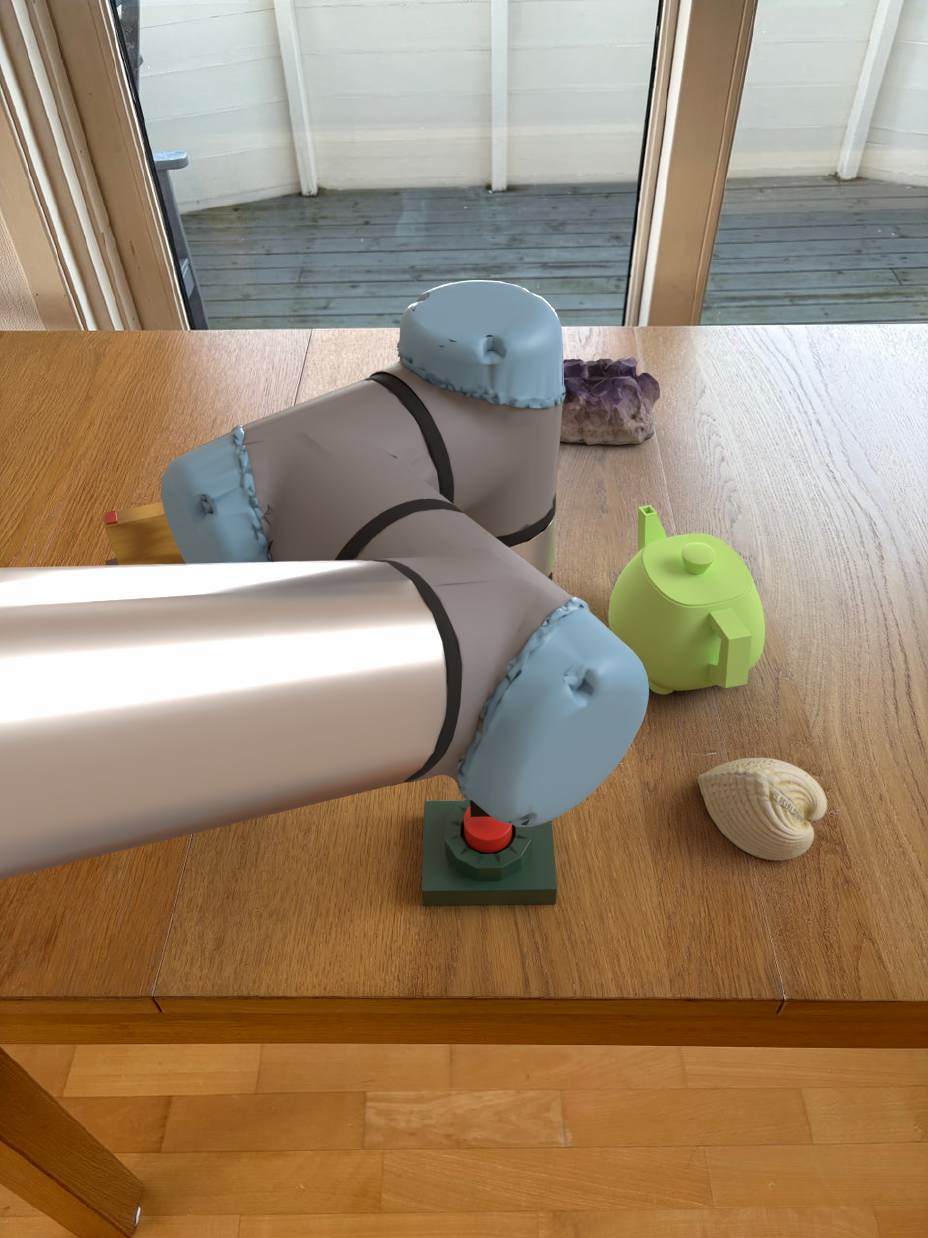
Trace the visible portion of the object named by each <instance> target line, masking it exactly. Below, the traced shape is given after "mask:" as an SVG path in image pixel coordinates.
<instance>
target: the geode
mask: <svg viewBox="0 0 928 1238" xmlns="http://www.w3.org/2000/svg"><path fill="white" fill-rule="evenodd" d="M563 367H564V386H565V391H566V393H565V398H564V400H563V406H562V420H561V433H560V442H563V443H564V442H565V443H572V444H573V443H574V444H581V443H584V444H586V445H588V446H593V445H595V444H600V445H626V444H632V445H634V444H635V445H638V444H642V443H643V442H644V441H647V440H650V439H651V438H653V436H654V434H655V427H654V426H655V422H654V421H655V420H654V419H655V415H654V414H655V413H654V412H653V410H654V406H655V404H656V402H657V401H658V400H659V399H660V397H661V389H660V383H659V381H658V380H657V379H656V378H654V377H653V376H652V375H651V374H650V373H648V372H641V373H640V374H639V375H638V372H637V367H638V360H637V359H636V358H635V357H634V356H626V357H620V358H617V359H615V360H612V359H611V358H599V359H597V360H587V361H584V360H583V359H581V358H569V359H567V358H565V359H563Z"/></svg>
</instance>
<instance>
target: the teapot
mask: <svg viewBox="0 0 928 1238" xmlns="http://www.w3.org/2000/svg"><path fill="white" fill-rule="evenodd" d="M637 526H638V527H637V535H638V536H637V544H638V545H637V553H636V554H635V556H633V557H632V558H631V560H630V561H629V562H628V563H627V565H626V566H625V567H624V569H622V572H621V573H620V574H619V576H618V578H617V579H616V582H615V584H614V587H613V589H612V591H611V595H610V599H609V603H608V604H609V605H608V610H607V611H608V612H607V614H608V615H607V617H608V618H607V619H608V625H609V630H610V631H611V632H613V633H614V634H615V635H616V636H617V637H618V638H619V639H620V640H621V641H623V642H624V643H625V644H626V645H627V646H628V647H629V648H630V649H632V650H633V652H634V653H635V654H636V655H637V656H638V658H639V659H640V660H641V662H642V664H643V666H644V668H645V671H646V674H647V677H648V684H649V690H651V691H652V692H654V693H655V694H659V695H668V694H671V693H673V692H674V691H679V692H681V691H693V690H699V689H706V688H709V687H713V686H718V687H720V688H723V689H729V688H733V687H739V686H745V685H748V684H749V683H748V682H749V681H748V680H749V671H750V670H752V669H753V668H754V667H755V666H756V665H757V664H758V662H759V661H760V660H761V658H762V655H763V650H764V646H765V642H766V621H765V613H764V609H763V604H762V601H761V597H760V594H759V591H758V589H757V586H756V583H755V581H754V578H753V576H752V573H751V571H750V570H749V567H748V566H747V564H746V562H745V560H744V559H743V558H742V557H741V556H740V554H739V553H737V551H735V549H734V548H732V547H731V546H730V545H729V544H728V543H726V541H724V540H722V539H720V538H718V537H716V536H714V535H712V534H709V533H705V532H704V533H703V532H695V533H694V532H692V533H683V534H677V535H672V536H667V533H666V531H665V529H664V527H663V523H662V521H661V520H660V518H659V514H658V512H657V510H656V509H655V508H654V507H653V506H652V505H651V504H647V505H642V506H638V507H637Z"/></svg>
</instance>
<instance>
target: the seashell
mask: <svg viewBox="0 0 928 1238" xmlns="http://www.w3.org/2000/svg"><path fill="white" fill-rule="evenodd" d="M697 781H698V782H697V783H698V785H699V789H700V794H701V795H702V797H703V801H704V804H705V807H706V810H707V812H708V813H709V816H710V817H711V819H712V821H713V822H714V824H715V825H716V827H717V828H718V830H719V831H720V832H721V833H722V835H724V837H726V838H727V839H728V840H729V841H730V842H731V843H733V844H734V845H735V846H736V847H738V848H739V849H740V850H742V851H743V852H745V853H748V854H750V855H752V856H754V857H756V858H758V859H759V858H760V859H764V860H767V861H768V860H769V861H788V860H792V859H795V858H797V857H800V856H801V855H803V854H805V853H806V852H807V851H808V850H809V849H810V848H811V846H812V844H813V842H814V839H815V830H814V827H813V825H812V824H811V823H810V822H811V821H819V820H821V819H822V818H823V817H824V816H825V815H826V812H827V809H828V799H827V795H826V794H825V793H826V792H825V791H824V789H823V788H822V786H821V784H820V783H819V782H818V781H817V780H816V779H815V778H814V777H813V776H811V774H809V773H808V772H807V771H805V770H804V769H802V768H800V767H798V766H796V765H794V764H792V763H789V762H786V761H783V760H780V759H775V758H770V757H746V758H739V759H734V760H732V761H728V762H724V763H722V764H719V765H716V766H714V767H713V768H711V769H709V770H707V771H706V772H703V773H702V774H699V775H698V777H697Z"/></svg>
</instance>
